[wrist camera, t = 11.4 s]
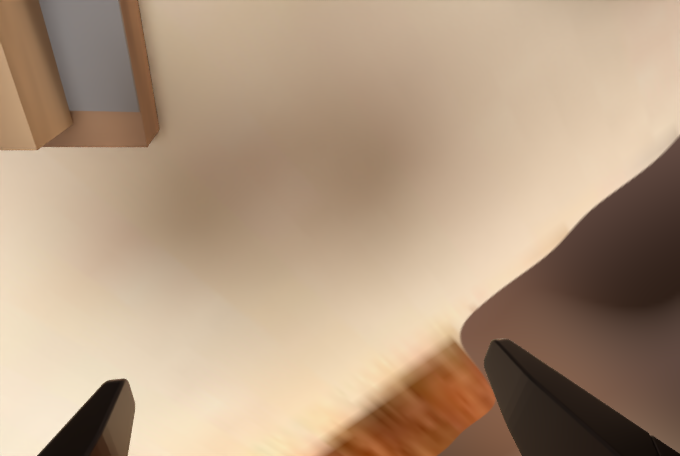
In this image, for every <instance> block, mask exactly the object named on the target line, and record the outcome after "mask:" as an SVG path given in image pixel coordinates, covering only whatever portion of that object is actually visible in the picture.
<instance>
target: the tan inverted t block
mask: <svg viewBox="0 0 680 456" xmlns="http://www.w3.org/2000/svg"><path fill="white" fill-rule="evenodd" d="M72 124H73V122H72V118H71V114H70V111H69V107H68V104H67V100H66V97H65V93H64V89H63V86H62V82H61V79H60V75H59V72H58V68H57V64H56V61H55V57H54V54H53V50H52V46H51V43H50V39H49V36H48V32H47V29H46V25H45V21H44V18H43V14H42V11H41V7H40V4H39V0H0V150H38V149H39V148H41V147H42V146H43V145H45V144H46V143H48V142H49V141H50V140H52V139H53V138H55V137H56V136H57V135H59V134H60V133H61V132H63V131H64V130H66V129H67V128H68V127H70V126H71V125H72Z"/></svg>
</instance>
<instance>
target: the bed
mask: <svg viewBox="0 0 680 456" xmlns="http://www.w3.org/2000/svg"><path fill="white" fill-rule="evenodd" d="M39 4H40V7H41V11H42V14H43V18H44V21H45V25H46V29H47V32H48V36H49V39H50V43H51V46H52V50H53V54H54V57H55V61H56V64H57V68H58V72H59V75H60V79H61V82H62V86H63V89H64V93H65V97H66V100H67V104H68V107H69V111H70V114H71V118H72V122H73V124H72V125H71V126H70V127H68V128H67V129H66V130H64V131H63V132H61V133H60V134H59V135H57V136H56V137H55V138H53V139H52V140H50V141H49V142H48V143H46V144H45V145H43V146H42V147H148V146H149V144H150V143H151V141H152V140H153V138H154V137H155V135H156V134H157V132H158V131H159V124H158V118H157V112H156V106H155V100H154V94H153V88H152V82H151V76H150V70H149V64H148V58H147V52H146V46H145V40H144V34H143V28H142V23H141V17H140V11H139V5H138V0H39Z"/></svg>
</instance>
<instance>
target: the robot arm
mask: <svg viewBox="0 0 680 456" xmlns="http://www.w3.org/2000/svg"><path fill="white" fill-rule="evenodd" d="M484 368H485V371H486V374H487V376H488V379H489V381H490V384H491V387H492V389H493V392H494V394H495V397H496V399H497V402H498V405H499V407H500V410H501V412H502V415H503V417H504V420H505V422H506V424H507V426H508V429H509V431H510V433H511V435H512V437H513V439H514V441H515V443H516V445H517V447H518V448H519V451H520V453H521V455H522V456H680V454H679V453H678V452H676V451H675V450H673V449H672V448H670V447H669V446H667V445H666V444H664V443H663V442H661V441H660V440H658V439H656V438H655V437H654V436H650V435H649V433H648V432H646V431H645V430H643V429H642V428H640V427H639V426H637V425H636V424H634V423H633V422H631V421H630V420H628V419H627V418H625V417H624V416H623V415H621V414H620V413H618V412H616V411H615V410H614V409H612V408H611V407H609V406H608V405H606V404H605V403H603V402H602V401H600V400H599V399H597V398H596V397H594V396H593V395H591V394H590V393H588V392H587V391H585V390H584V389H582V388H581V387H579V386H578V385H576V384H575V383H573V382H572V381H570V380H569V379H567V378H566V377H564V376H563V375H562V374H560V373H559V372H557V371H556V370H554V369H553V368H551V367H549V366H548V365H547V364H545V363H544V362H542V361H541V360H539V359H538V358H536V357H535V356H533V355H532V354H530V353H529V352H527V351H526V350H524V349H522V348H521V347H520V346H518V345H517V344H515V343H514V342H512V341H511V340H509V339H505V338H503V339H494V340H492V341H491V343H490V346H489V348H488V351H487V353H486V356H485V359H484ZM134 413H135V401H134V398H133V395H132V391H131V388H130V385H129V382H128V380H126V379H115V380H108V381H106V382H105V383H103V384H102V385H101V387H100V388H99V389H98V390H97V391H96V392H95V393H94V394H93V395H92V396H91V397H90V399H89V400H88V401H87V402H86V403H85V404H84V405H83V406H82V407H81V408H80V409H79V411H78V412H77V413H76V414H75V415H74V416H73V417H72V418H71V419H70V420H69V422H68V423H67V424H66V425H65V426H64V427H63V428H62V429H61V430H60V431H59V432H58V434H57V435H56V436H55V437H54V438H53V439H52V440H51V441H50V442H49V443H48V444H47V446H46V447H45V448H44V449H43V450H42V451H41V452H40V453H39V454H38V455H37V456H128V450H129V444H130V438H131V432H132V426H133V419H134Z"/></svg>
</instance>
